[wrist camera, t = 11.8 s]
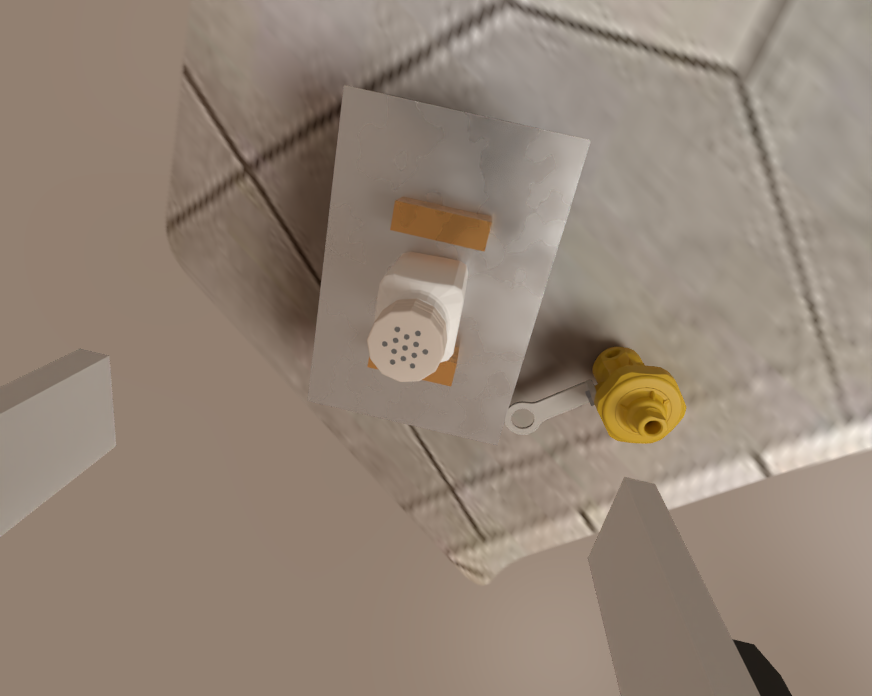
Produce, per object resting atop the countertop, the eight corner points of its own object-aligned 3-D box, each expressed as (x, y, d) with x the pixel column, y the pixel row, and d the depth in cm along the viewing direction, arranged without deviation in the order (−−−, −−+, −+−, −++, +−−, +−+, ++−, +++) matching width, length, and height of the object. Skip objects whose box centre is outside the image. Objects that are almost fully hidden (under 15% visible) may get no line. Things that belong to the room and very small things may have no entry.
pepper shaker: (393, 312, 29) (352, 381, 20) (402, 247, 27) (361, 291, 19) (458, 325, 29) (444, 400, 20) (470, 260, 27) (462, 311, 18)
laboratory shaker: (372, 100, 33) (318, 75, 22) (572, 145, 32) (612, 141, 22) (338, 349, 40) (285, 418, 30) (501, 387, 40) (505, 470, 29)
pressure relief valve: (656, 377, 38) (710, 448, 29) (518, 431, 41) (527, 512, 32) (631, 318, 37) (680, 374, 27) (490, 380, 40) (490, 449, 30)
